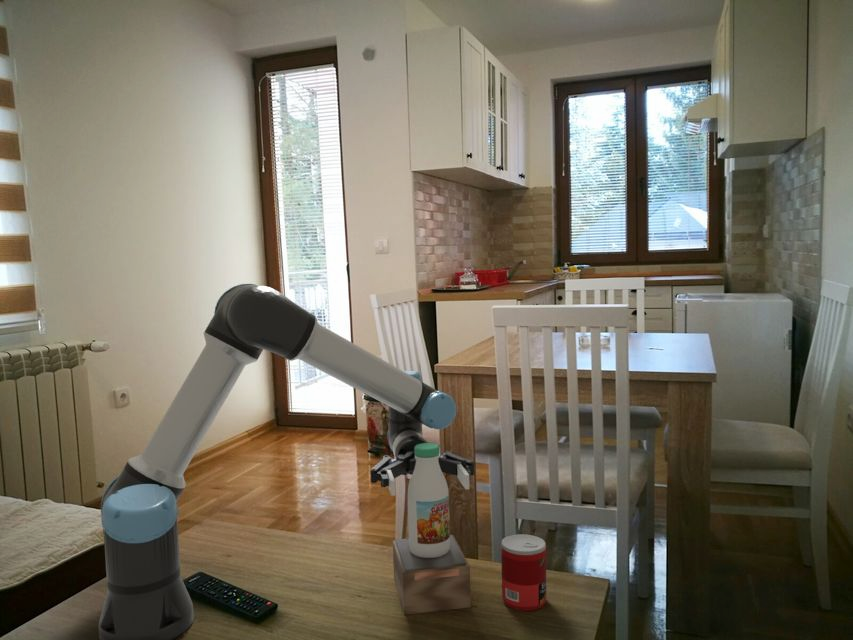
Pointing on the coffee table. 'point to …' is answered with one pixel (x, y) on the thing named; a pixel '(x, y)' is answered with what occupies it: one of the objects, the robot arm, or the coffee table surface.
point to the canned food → (523, 572)
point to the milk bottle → (428, 505)
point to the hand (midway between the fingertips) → (430, 485)
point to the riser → (431, 579)
